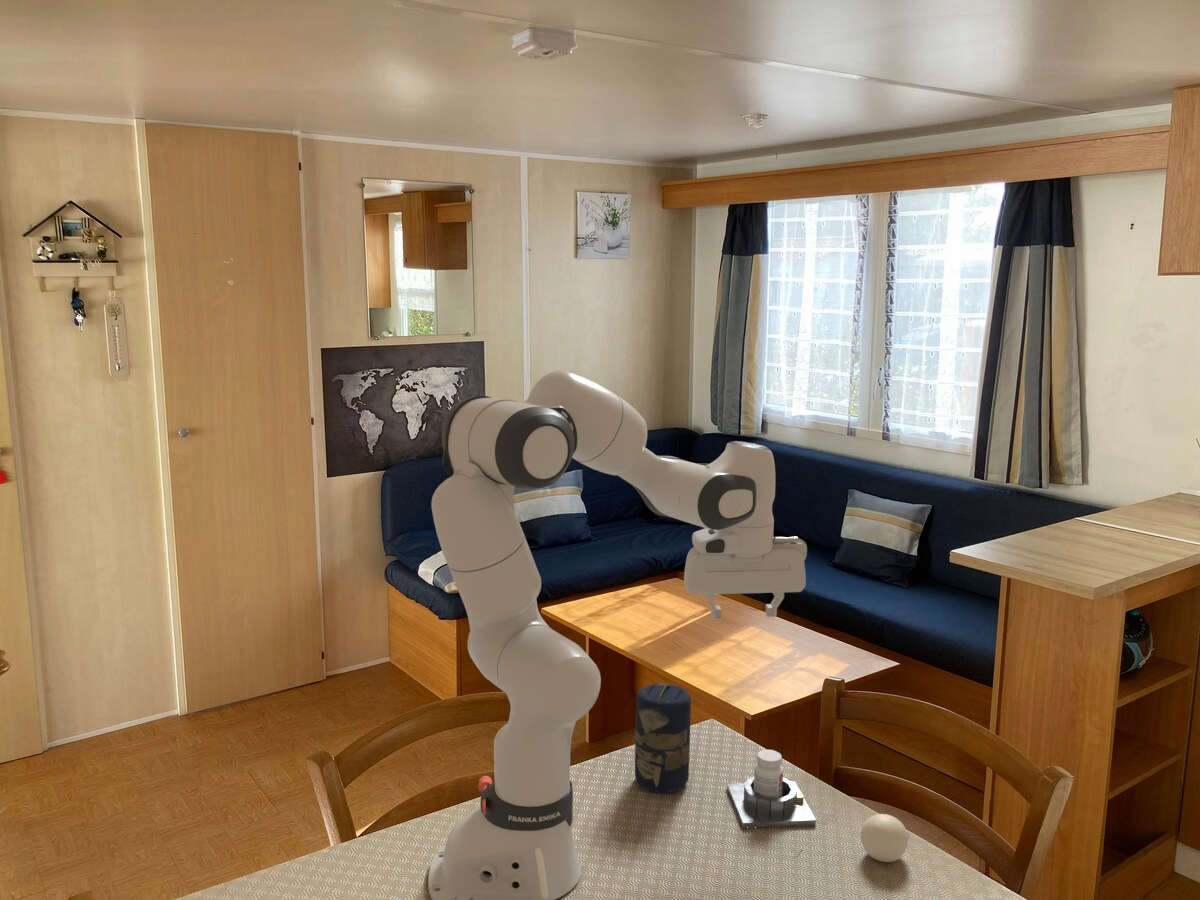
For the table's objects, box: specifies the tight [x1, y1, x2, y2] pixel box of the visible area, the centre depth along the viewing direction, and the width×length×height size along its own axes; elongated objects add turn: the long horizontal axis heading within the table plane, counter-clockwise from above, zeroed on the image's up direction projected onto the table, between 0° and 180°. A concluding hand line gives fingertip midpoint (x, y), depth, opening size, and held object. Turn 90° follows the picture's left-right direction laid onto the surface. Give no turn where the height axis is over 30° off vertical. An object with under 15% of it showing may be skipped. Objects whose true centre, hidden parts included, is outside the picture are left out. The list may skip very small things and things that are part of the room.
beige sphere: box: [860, 813, 910, 863], centre depth 148 cm, size 7×7×7 cm
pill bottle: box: [753, 749, 784, 798], centre depth 161 cm, size 5×5×8 cm
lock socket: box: [726, 775, 817, 829], centre depth 162 cm, size 12×12×4 cm
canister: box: [634, 682, 692, 793], centre depth 168 cm, size 10×10×18 cm
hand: (743, 616), depth 163 cm, fingers open, 8 cm apart
